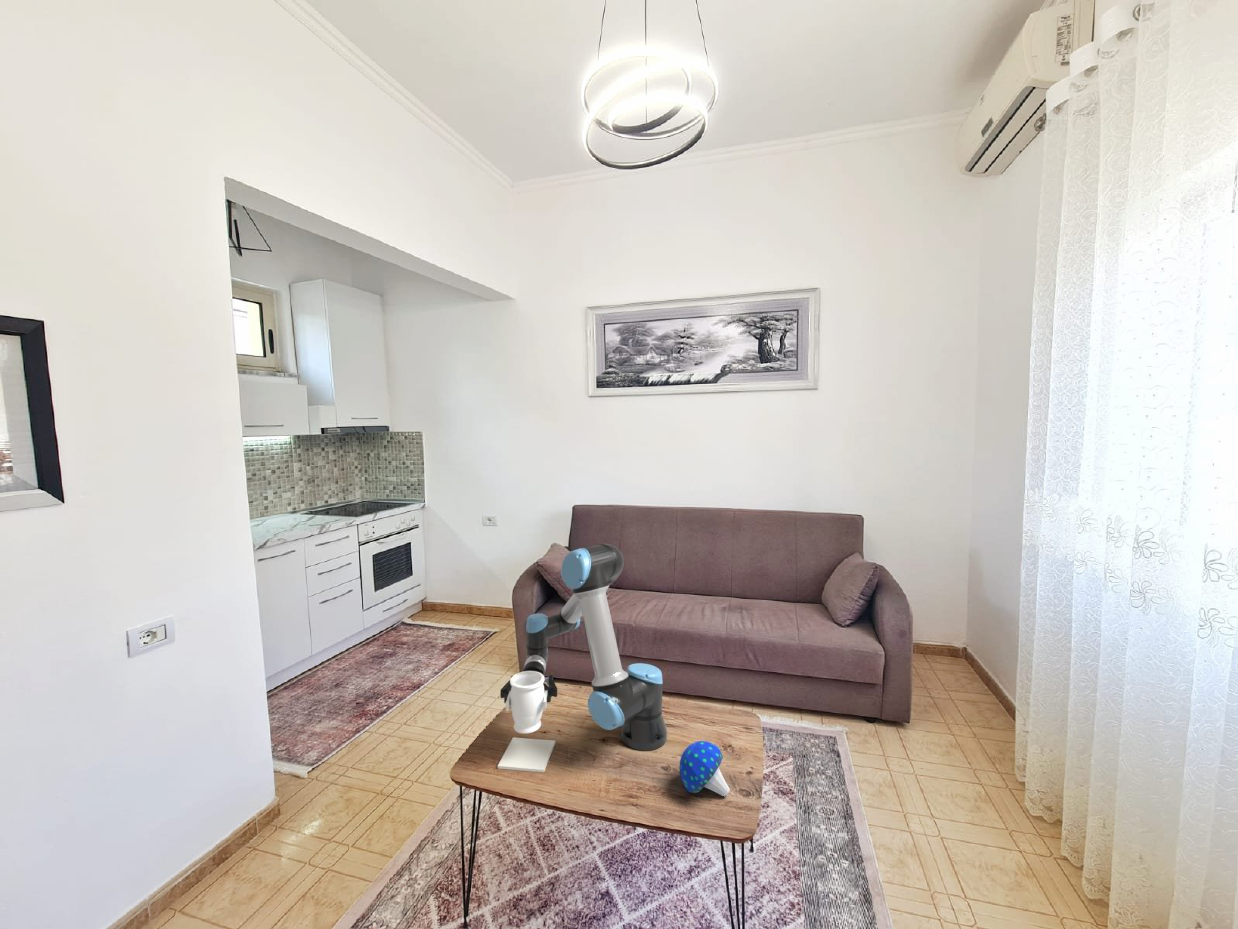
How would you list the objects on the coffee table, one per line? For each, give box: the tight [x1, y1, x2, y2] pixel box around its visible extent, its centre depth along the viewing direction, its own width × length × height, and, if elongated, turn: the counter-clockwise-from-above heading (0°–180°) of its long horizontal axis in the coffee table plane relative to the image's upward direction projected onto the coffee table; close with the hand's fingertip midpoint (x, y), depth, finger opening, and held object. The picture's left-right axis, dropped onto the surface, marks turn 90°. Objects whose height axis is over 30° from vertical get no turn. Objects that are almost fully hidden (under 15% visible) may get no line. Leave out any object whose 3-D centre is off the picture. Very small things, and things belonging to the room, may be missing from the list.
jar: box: [509, 671, 545, 735], centre depth 150 cm, size 11×10×15 cm
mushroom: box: [679, 740, 731, 798], centre depth 137 cm, size 14×14×15 cm
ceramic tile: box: [497, 737, 556, 773], centre depth 151 cm, size 14×14×1 cm
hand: (525, 706), depth 146 cm, fingers closed on jar, 10 cm apart
